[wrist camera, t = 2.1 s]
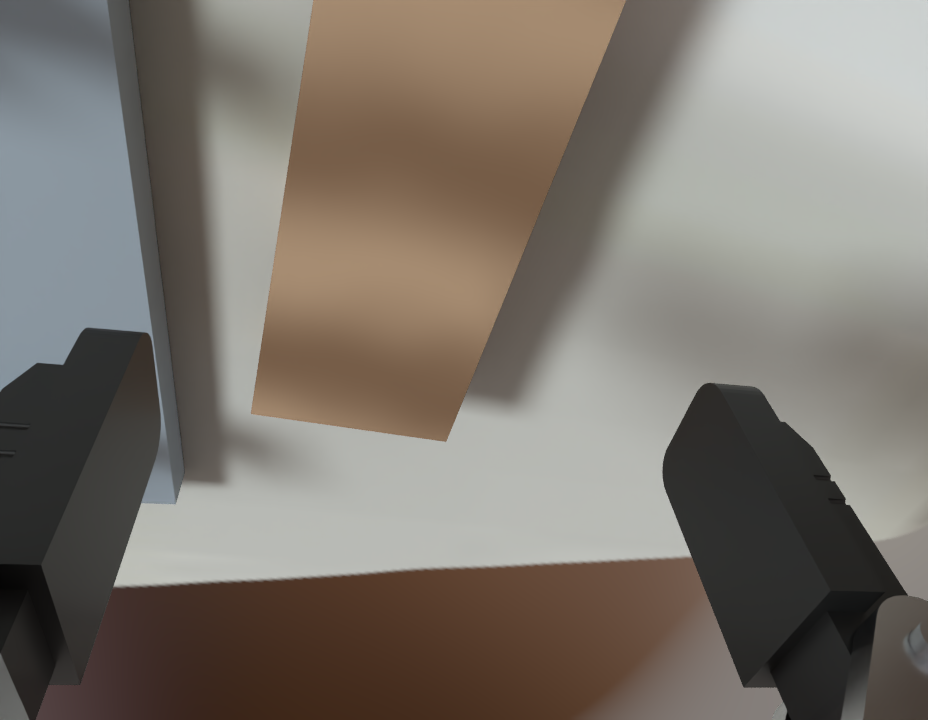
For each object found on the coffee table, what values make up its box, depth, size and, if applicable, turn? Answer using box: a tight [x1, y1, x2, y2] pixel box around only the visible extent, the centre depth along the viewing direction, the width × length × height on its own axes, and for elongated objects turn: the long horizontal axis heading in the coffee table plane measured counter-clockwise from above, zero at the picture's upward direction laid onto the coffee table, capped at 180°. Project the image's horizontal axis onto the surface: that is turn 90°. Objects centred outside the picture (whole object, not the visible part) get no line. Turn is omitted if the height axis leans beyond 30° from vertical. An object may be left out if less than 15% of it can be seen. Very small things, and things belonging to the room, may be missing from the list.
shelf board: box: [251, 0, 626, 442], centre depth 17 cm, size 18×6×4 cm, turn 163°
